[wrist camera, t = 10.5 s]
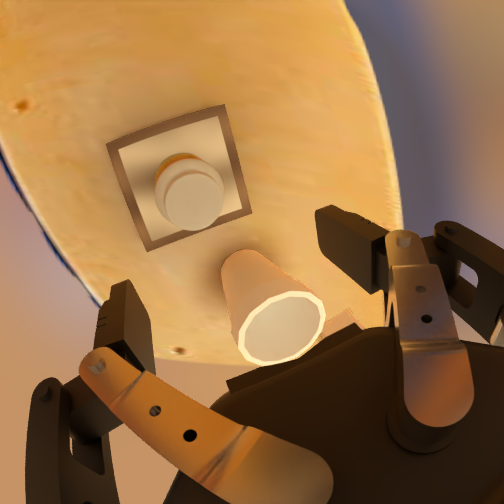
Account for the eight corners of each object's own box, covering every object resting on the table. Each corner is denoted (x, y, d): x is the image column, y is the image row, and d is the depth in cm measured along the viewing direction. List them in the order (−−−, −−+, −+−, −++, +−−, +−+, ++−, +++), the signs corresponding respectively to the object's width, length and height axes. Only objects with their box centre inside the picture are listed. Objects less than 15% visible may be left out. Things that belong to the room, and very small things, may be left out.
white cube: (317, 326, 49) (335, 348, 44) (346, 309, 49) (365, 328, 44) (324, 346, 52) (340, 366, 47) (350, 329, 52) (367, 348, 47)
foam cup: (272, 296, 42) (315, 355, 31) (209, 304, 39) (237, 373, 28) (279, 235, 38) (332, 284, 27) (209, 239, 35) (240, 297, 24)
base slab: (111, 141, 27) (105, 144, 23) (216, 106, 29) (225, 104, 25) (147, 238, 33) (146, 253, 29) (241, 203, 35) (253, 213, 31)
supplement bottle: (218, 169, 28) (249, 189, 20) (190, 214, 29) (208, 253, 21) (172, 141, 25) (182, 148, 17) (144, 189, 26) (140, 219, 18)
